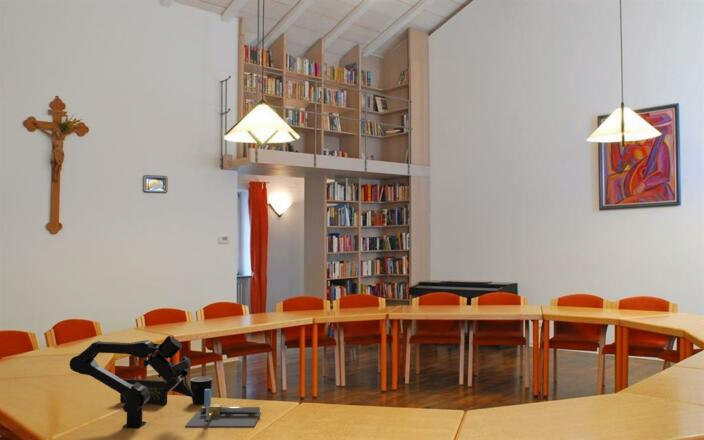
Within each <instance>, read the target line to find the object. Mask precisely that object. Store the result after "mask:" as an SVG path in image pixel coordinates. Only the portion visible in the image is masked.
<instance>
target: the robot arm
mask: <svg viewBox="0 0 704 440" xmlns="http://www.w3.org/2000/svg"><path fill="white" fill-rule="evenodd" d="M182 348H183V345H182V343H181V341H179V340H178V339H176V338H174V337H172V336H171V335H168V336H166V337H165V339H164V340H163V341H162V342H161V343H153V341H152V340H149V339H145V340H139V341H133V342H118V341H117V342H115V341H100V340H97V341H95V342H92V343H91V344H90V345H89V346H88V347H87V348H86V349H85V350H83V351H82V352H80V353H79V354H78V355H76V356H73V357H72V358H71V359H70V360H69V368H70V370H71V371H73V372H75V373H78V374H80V375H86V376H90V377H92V378H93V379H96V380H97V381H98V382H100V383H102V384H104V385H105V386H107V387H109V388H110V389H112V390H113V391H115V392H117V393H119V395H120V394H122V395H123V397H124V398H125V400H126V401H127V403H124V405H123V406H122V409H123V411H124V413H126V423H125V424H124V425H122V428H130V429H131V428H133V429H134V428H135V429H139V428H141V427H142V426H144V425H146V424H147V421H143V416H144V415H143V409H144V408H143V407H145V406H146V404H145V403H146V402H147V401H148V400H149V398H150V392H149V390H148V389H146V388H147V387H145V386H143V385H141V384H140V383H139V382H137V383H136V384H134V385H132V384H129V383H127V382H126V381H124V380H123V379H122V378H121V377H119V376H117V375H115V374H113V373H112V372H110V371H109V370H107V369H105V368H103V367H102V366H100V365H99V364H98V363H97V361H96V360H95V358H96V357H97V356H98V354H120V355H121V354H123V355H125V354H126V355H129V356H132V357H134V358H135V357H136V358H139V359H144V358H145V359H144V360H143V368H146V367H148V366H150V367H151V368H152V370H154V371H156V373H157V374H158V375H157V377H158V378H162V380H163V379H164V380H163V381H166V384H165V385H164V386H163V387H162V391H163V392H164V393H166V394H167V395H168V393H169V392H170V391H171V392H174V393H178V394H182V395H185V396H187V397H189V398H192V396H193V393H192V391H191V387H190V386H189V385H190V384H189V383H188V375H189V374H190V373H191V370H190V369H189V368H190V367H192V366H193V365H192V363H191V359H190V358H189V357H187V356H183V357H181V358H180V361H179V362H177V363H175V362H173V361H172V362H171V361H169V360H168V359H173V358H174V357H175V355H176V354H178V352H179V351H180V350H181V349H182ZM156 352H157V353H156ZM155 353H156V354H155ZM148 356H149V357H148ZM147 357H148V359H147ZM171 389H172V390H171Z"/></svg>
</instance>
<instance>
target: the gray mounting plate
mask: <svg viewBox="0 0 704 440" xmlns="http://www.w3.org/2000/svg"><path fill="white" fill-rule="evenodd" d="M261 415H262V412H261V411H260V414H255V416H254V417H248V414H233V415H232V417H225V414H221V416H220V417H210V418H211V419H210V421H209V422H205V420H204V419H205V417H206V414H204V415H201V414H200V411H197V412H195V413H194V415H193V416H192V417H191V418H190V419H189V420H188V422H187V423H186V424H185V425H184V428H230V429H231V428H238V429H239V428H244V429H245V428H246V429H247V428H250V429H251V428H255V427H256V425H257V423H258V421H259V419H260V417H261Z"/></svg>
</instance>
